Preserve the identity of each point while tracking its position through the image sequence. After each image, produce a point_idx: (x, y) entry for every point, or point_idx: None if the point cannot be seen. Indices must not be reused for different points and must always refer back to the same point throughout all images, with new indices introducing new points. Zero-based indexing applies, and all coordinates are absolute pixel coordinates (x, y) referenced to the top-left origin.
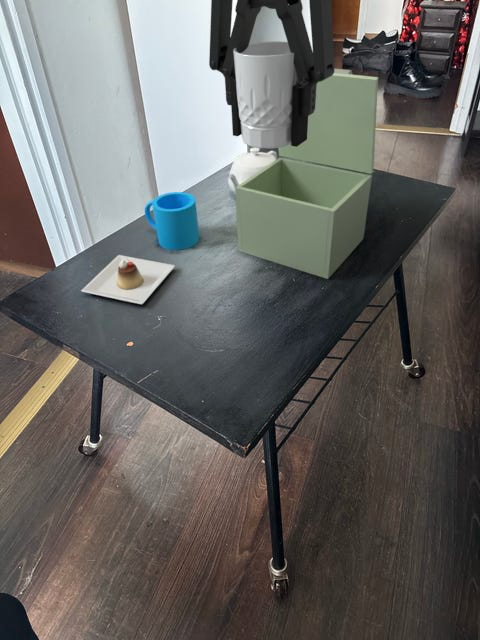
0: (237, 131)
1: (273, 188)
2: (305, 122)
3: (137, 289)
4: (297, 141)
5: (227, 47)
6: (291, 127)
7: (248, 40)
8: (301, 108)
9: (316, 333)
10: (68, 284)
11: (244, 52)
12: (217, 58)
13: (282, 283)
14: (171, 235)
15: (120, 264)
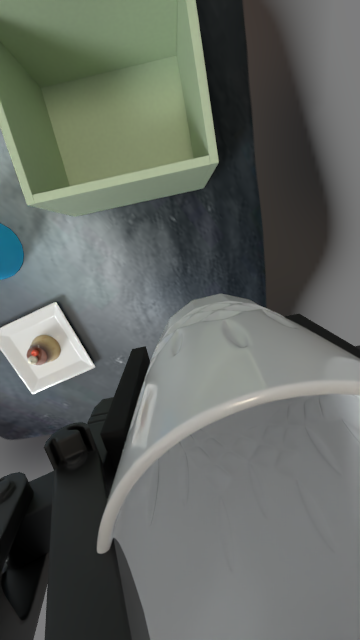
0: None
1: (16, 84)
2: None
3: (63, 350)
4: None
5: (2, 567)
6: None
7: (125, 590)
8: None
9: (248, 277)
10: (5, 389)
11: (122, 535)
12: (45, 580)
13: (167, 234)
14: (2, 276)
15: (32, 364)
